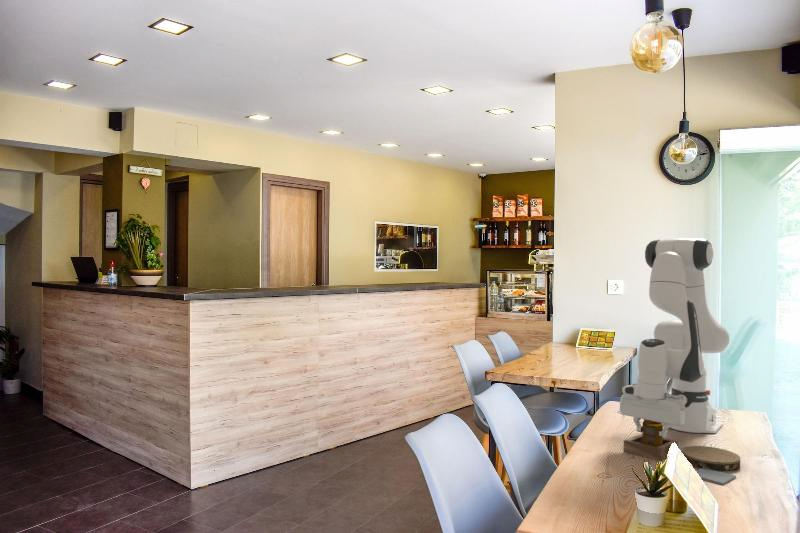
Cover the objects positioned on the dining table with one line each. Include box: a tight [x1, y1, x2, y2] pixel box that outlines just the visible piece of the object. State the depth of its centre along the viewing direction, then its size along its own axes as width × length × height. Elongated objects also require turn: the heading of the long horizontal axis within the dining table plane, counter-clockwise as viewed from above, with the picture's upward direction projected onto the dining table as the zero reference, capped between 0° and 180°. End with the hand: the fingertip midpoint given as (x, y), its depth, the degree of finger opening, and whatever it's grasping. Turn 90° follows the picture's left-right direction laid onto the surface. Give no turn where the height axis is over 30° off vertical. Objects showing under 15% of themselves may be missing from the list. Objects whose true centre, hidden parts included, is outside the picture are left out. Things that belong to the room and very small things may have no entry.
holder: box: [623, 433, 679, 461], centre depth 200 cm, size 13×12×4 cm
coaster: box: [696, 467, 737, 486], centre depth 177 cm, size 9×9×1 cm
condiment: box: [641, 419, 664, 447], centre depth 200 cm, size 7×8×12 cm
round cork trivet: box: [681, 445, 741, 473], centre depth 190 cm, size 16×16×3 cm
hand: (651, 434), depth 199 cm, fingers closed on condiment, 6 cm apart
